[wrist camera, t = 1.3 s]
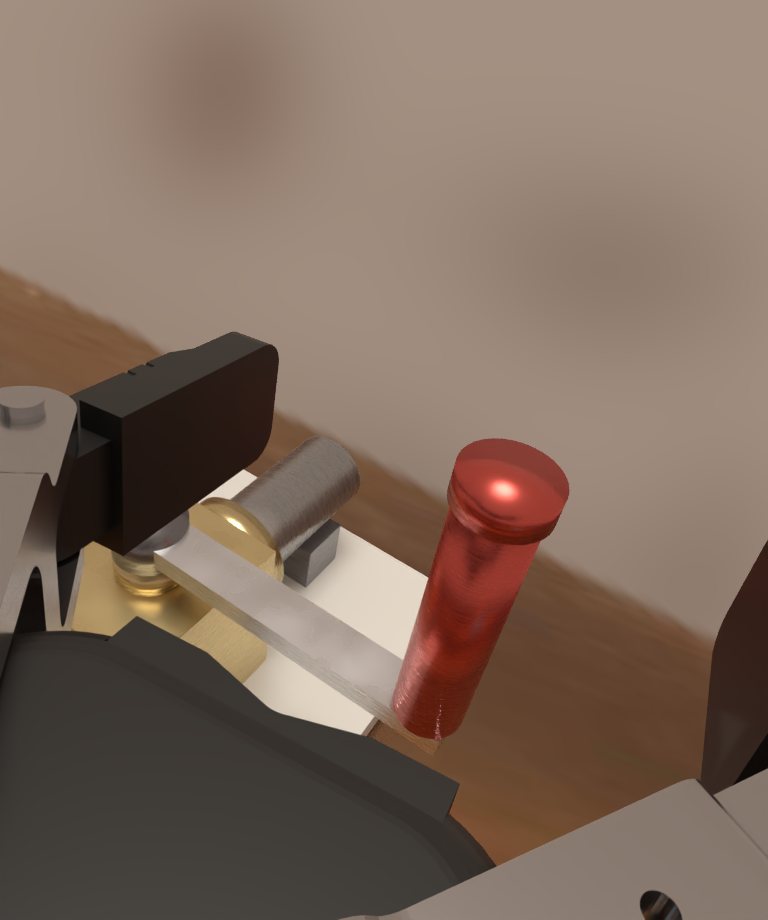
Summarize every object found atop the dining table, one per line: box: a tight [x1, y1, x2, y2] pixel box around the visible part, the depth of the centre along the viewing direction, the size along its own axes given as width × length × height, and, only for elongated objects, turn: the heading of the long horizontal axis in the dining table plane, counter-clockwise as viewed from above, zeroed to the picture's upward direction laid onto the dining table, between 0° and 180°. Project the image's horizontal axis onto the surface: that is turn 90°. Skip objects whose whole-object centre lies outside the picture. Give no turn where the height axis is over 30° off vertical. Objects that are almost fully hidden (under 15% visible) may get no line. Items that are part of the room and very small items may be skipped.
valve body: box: [71, 436, 360, 684], centre depth 35 cm, size 7×28×10 cm, turn 148°
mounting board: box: [198, 470, 428, 736], centre depth 39 cm, size 20×29×2 cm
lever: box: [111, 439, 569, 756], centre depth 25 cm, size 17×3×12 cm, turn 58°
